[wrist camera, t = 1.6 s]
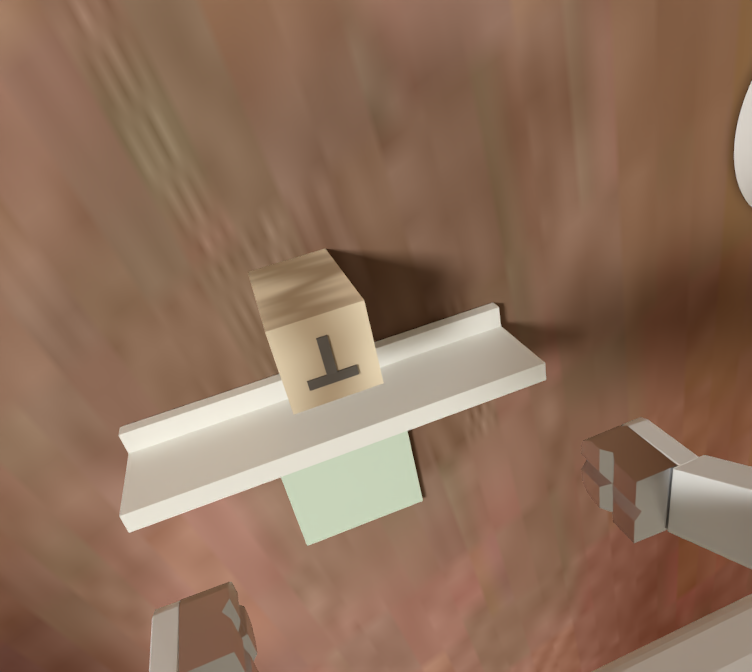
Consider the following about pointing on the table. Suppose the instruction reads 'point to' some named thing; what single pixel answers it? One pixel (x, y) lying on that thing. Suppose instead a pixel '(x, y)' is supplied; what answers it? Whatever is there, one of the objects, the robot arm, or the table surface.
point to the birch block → (316, 330)
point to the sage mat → (354, 488)
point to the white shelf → (316, 417)
